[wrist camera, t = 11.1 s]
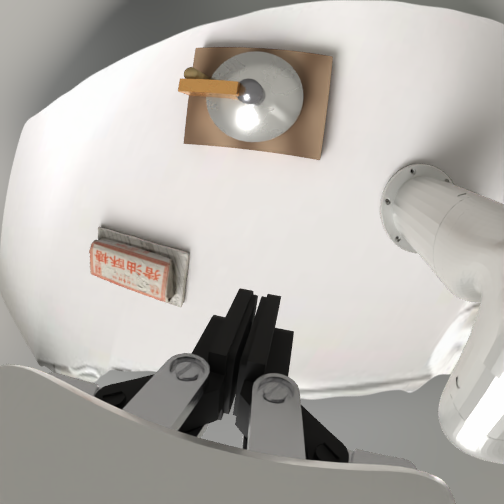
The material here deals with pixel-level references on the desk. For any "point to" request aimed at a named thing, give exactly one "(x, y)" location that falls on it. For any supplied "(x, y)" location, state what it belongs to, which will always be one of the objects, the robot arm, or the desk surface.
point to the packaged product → (140, 265)
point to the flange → (251, 96)
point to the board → (295, 138)
